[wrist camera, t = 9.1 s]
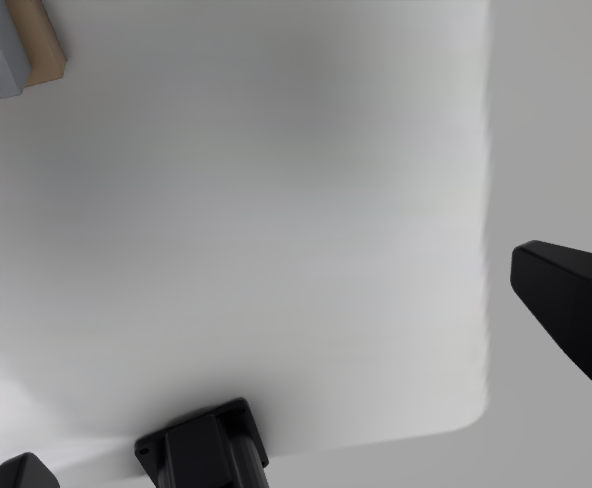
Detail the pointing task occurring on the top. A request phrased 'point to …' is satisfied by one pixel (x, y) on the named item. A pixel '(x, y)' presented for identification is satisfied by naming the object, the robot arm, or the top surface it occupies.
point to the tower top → (11, 57)
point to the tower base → (38, 40)
